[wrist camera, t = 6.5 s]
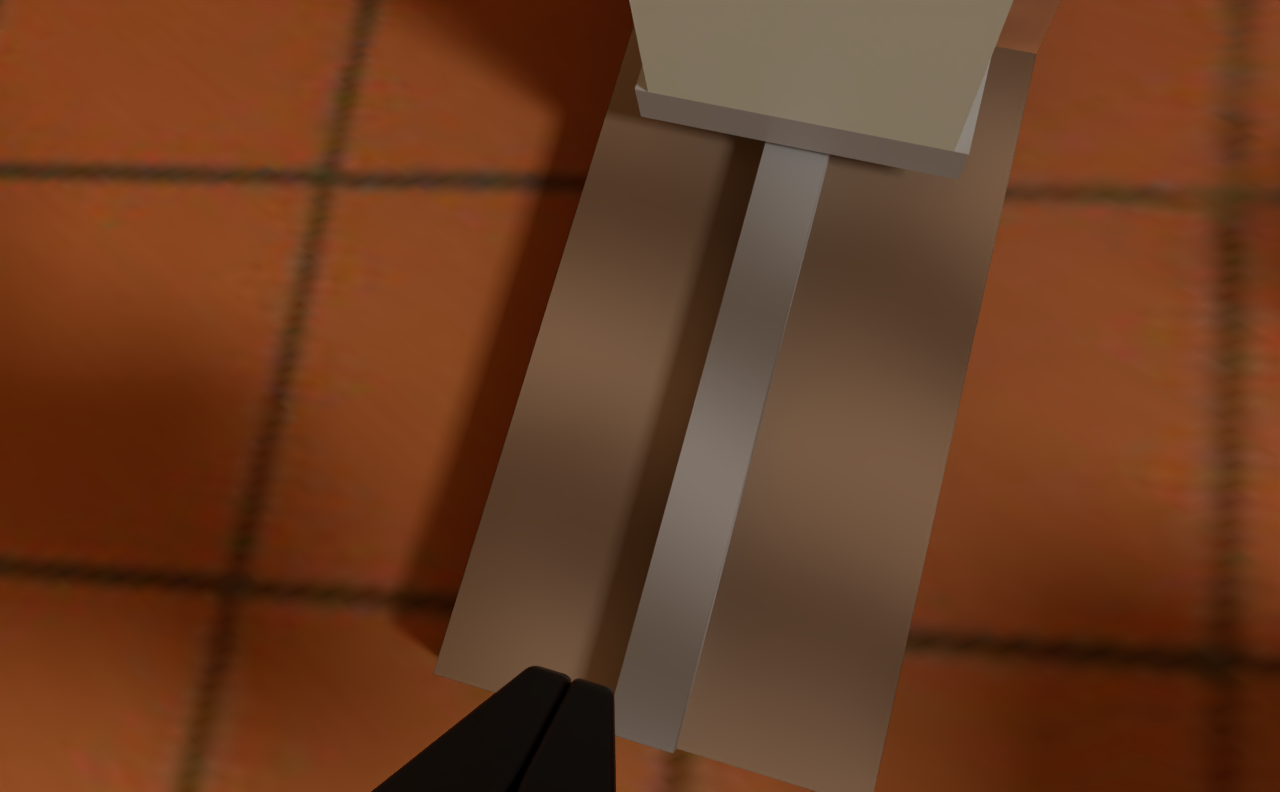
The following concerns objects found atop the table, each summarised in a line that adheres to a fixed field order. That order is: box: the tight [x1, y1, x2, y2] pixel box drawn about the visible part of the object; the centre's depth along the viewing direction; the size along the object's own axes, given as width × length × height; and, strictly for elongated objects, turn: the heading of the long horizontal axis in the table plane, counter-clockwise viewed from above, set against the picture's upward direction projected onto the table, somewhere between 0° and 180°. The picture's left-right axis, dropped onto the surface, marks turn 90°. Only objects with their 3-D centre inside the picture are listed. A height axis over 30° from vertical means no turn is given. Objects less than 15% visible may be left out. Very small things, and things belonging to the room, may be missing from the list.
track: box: [433, 0, 1061, 792], centre depth 17 cm, size 18×8×8 cm, turn 164°
